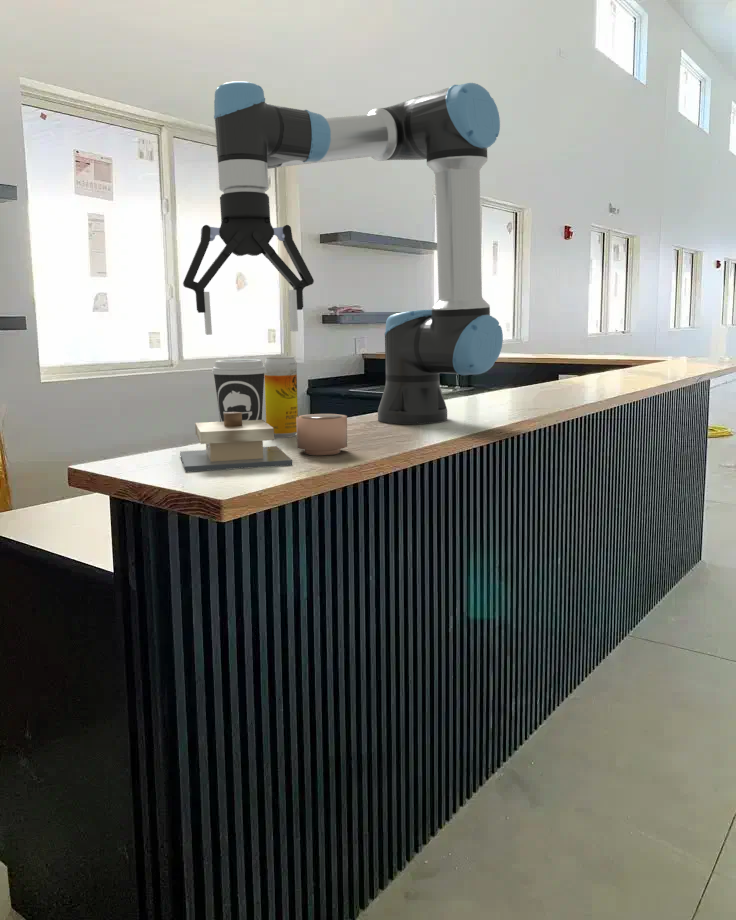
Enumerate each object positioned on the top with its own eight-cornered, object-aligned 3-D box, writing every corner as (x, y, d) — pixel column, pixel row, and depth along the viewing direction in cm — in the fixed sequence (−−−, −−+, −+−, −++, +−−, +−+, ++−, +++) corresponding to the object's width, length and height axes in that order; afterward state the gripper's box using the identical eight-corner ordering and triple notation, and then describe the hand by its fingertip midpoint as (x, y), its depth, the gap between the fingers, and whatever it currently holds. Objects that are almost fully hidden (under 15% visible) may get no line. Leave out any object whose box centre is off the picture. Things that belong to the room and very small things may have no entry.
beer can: (293, 438, 147) (290, 357, 144) (262, 437, 148) (259, 357, 145) (302, 433, 153) (300, 356, 150) (272, 433, 154) (269, 356, 151)
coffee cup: (280, 445, 139) (277, 360, 136) (235, 452, 132) (232, 362, 129) (247, 440, 145) (244, 358, 142) (203, 446, 138) (199, 361, 136)
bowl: (340, 446, 137) (339, 412, 135) (353, 454, 129) (352, 418, 128) (292, 449, 134) (291, 414, 133) (302, 457, 126) (301, 420, 125)
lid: (263, 430, 130) (262, 407, 130) (274, 440, 120) (273, 415, 119) (195, 433, 127) (194, 410, 127) (200, 443, 117) (199, 418, 116)
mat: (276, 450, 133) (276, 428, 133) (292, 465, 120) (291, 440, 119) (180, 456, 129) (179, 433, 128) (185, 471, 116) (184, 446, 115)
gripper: (317, 197, 128) (322, 329, 132) (159, 195, 121) (170, 335, 125) (328, 190, 121) (333, 330, 125) (161, 188, 114) (172, 336, 118)
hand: (252, 333), depth 125 cm, fingers open, 13 cm apart
